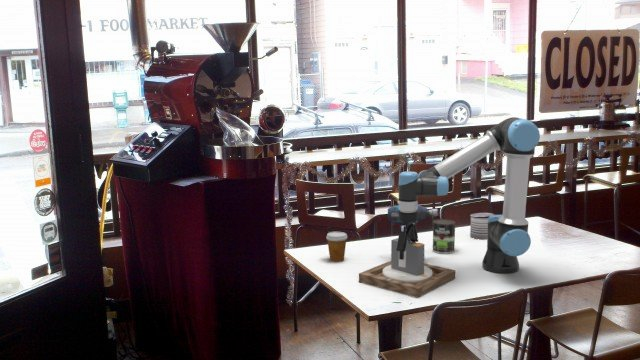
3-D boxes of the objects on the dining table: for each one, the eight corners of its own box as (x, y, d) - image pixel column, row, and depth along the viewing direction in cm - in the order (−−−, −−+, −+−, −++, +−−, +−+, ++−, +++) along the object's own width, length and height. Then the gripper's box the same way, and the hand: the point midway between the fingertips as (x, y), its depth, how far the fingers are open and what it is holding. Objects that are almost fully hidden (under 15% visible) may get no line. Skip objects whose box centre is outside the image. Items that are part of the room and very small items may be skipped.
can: (478, 241, 311) (479, 217, 309) (465, 235, 322) (465, 212, 319) (497, 238, 316) (498, 214, 314) (483, 233, 326) (483, 210, 324)
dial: (372, 275, 257) (372, 241, 254) (405, 264, 270) (405, 232, 267) (409, 287, 242) (410, 251, 239) (442, 275, 255) (443, 241, 252)
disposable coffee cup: (351, 259, 285) (351, 233, 283) (338, 264, 278) (337, 238, 276) (336, 255, 291) (335, 230, 289) (322, 260, 285) (321, 234, 282)
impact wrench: (437, 263, 278) (438, 207, 273) (386, 260, 282) (386, 206, 278) (438, 257, 285) (439, 203, 281) (388, 255, 290) (388, 202, 285)
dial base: (455, 278, 257) (455, 269, 257) (417, 297, 237) (417, 288, 236) (398, 265, 276) (398, 256, 275) (358, 281, 255) (358, 273, 255)
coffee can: (452, 255, 289) (453, 225, 287) (430, 252, 293) (430, 223, 290) (456, 248, 299) (457, 220, 296) (435, 246, 302) (435, 218, 300)
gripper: (408, 203, 264) (408, 252, 267) (388, 216, 242) (388, 269, 246) (426, 205, 260) (425, 254, 264) (407, 218, 239) (406, 272, 242)
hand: (407, 262), depth 255 cm, fingers open, 13 cm apart
